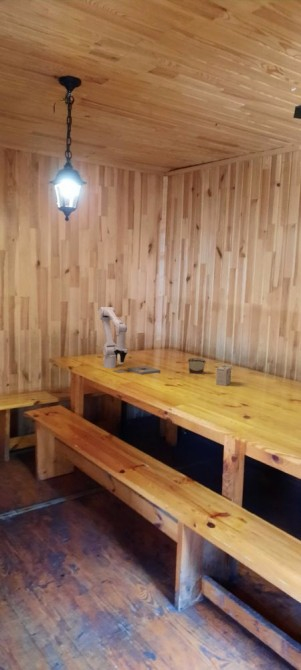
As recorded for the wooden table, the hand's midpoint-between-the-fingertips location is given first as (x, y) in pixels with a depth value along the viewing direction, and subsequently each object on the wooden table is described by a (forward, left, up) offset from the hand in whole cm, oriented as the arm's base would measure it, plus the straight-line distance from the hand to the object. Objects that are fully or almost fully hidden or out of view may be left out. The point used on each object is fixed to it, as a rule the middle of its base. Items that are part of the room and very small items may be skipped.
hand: (120, 361), depth 330 cm
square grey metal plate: (0, 0, -8) cm, 8 cm away
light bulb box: (+58, +40, -8) cm, 71 cm away
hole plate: (+7, +15, -8) cm, 18 cm away
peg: (0, 0, -1) cm, 1 cm away
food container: (+25, +47, -8) cm, 54 cm away
